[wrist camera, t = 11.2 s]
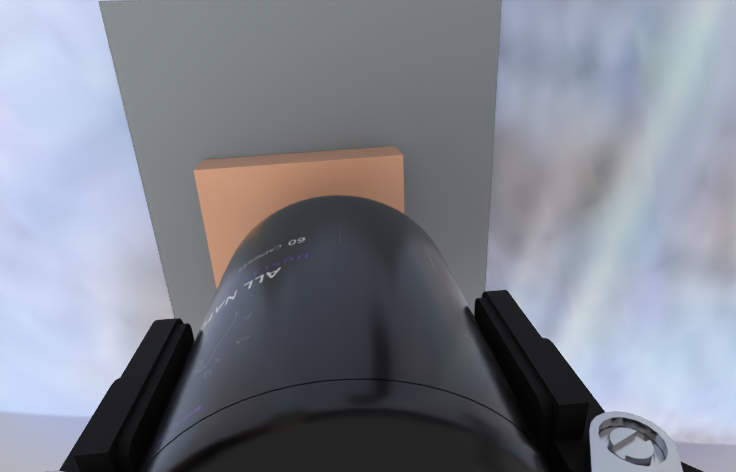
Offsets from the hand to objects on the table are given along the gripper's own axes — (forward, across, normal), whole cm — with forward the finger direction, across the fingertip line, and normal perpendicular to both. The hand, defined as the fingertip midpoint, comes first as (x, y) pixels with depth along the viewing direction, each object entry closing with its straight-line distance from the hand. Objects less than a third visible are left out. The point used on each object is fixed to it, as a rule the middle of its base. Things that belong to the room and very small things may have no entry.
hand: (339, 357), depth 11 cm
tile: (+11, +1, -2) cm, 12 cm away
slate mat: (+13, 0, -1) cm, 13 cm away
